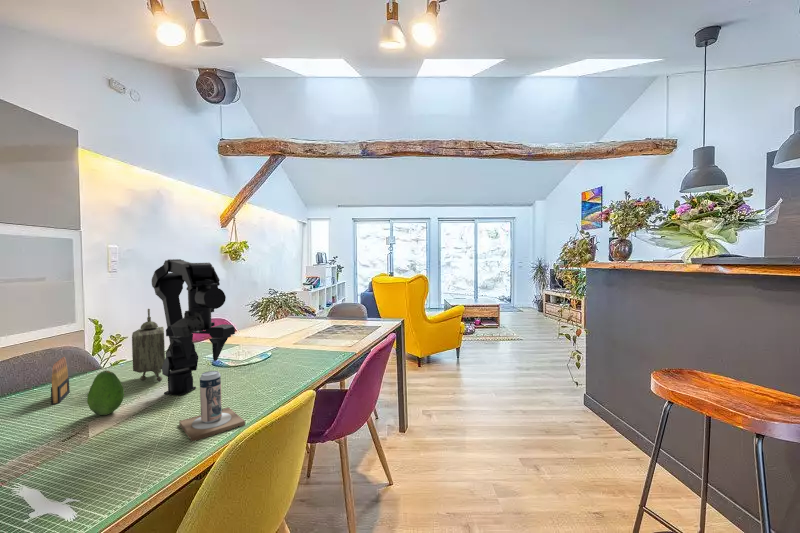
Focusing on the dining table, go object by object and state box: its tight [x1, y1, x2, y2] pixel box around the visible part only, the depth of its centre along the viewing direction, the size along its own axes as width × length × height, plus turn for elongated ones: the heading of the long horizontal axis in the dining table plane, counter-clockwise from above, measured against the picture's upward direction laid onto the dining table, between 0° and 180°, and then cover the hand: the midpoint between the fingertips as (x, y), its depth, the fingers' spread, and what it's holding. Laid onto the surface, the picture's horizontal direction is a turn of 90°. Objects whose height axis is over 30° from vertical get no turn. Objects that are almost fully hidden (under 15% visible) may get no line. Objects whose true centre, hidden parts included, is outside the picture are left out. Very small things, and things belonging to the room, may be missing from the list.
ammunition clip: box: [50, 356, 71, 406], centre depth 113 cm, size 11×2×12 cm, turn 30°
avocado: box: [86, 370, 125, 416], centre depth 101 cm, size 8×8×12 cm
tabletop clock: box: [131, 308, 166, 382], centre depth 130 cm, size 14×9×25 cm, turn 34°
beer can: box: [199, 370, 223, 423], centre depth 93 cm, size 5×5×12 cm
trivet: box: [178, 406, 246, 442], centre depth 93 cm, size 12×12×1 cm
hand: (201, 360), depth 106 cm, fingers open, 9 cm apart
